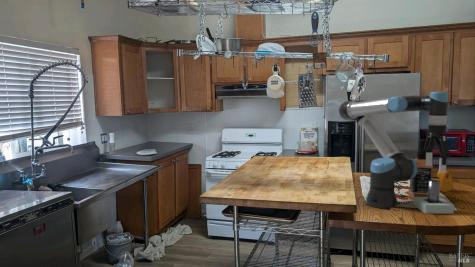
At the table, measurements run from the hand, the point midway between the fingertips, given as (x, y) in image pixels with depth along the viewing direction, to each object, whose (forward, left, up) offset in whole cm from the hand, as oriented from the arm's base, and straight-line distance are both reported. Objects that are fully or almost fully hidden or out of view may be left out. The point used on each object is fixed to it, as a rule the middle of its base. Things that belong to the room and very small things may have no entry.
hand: (435, 168), depth 172 cm
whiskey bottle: (+3, +21, -21) cm, 30 cm away
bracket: (+22, +37, -21) cm, 48 cm away
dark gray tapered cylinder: (0, 0, -20) cm, 20 cm away
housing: (0, 0, -21) cm, 21 cm away
